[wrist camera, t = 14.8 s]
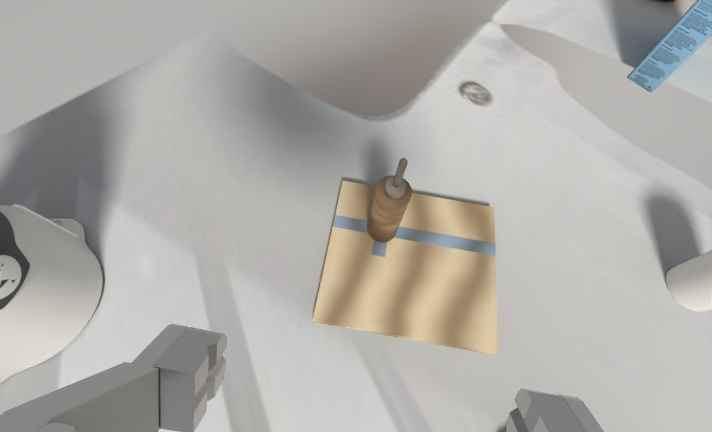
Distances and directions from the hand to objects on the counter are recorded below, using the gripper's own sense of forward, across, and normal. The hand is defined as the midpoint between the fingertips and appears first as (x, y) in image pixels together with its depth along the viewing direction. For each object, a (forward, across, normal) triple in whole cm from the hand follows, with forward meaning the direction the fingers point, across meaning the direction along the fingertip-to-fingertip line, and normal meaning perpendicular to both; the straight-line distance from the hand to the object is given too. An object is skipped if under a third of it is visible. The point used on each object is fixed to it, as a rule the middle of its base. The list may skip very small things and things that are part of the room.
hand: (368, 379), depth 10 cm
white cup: (+34, -41, +8) cm, 54 cm away
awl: (+33, -2, +7) cm, 34 cm away
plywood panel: (+32, -6, +10) cm, 34 cm away
